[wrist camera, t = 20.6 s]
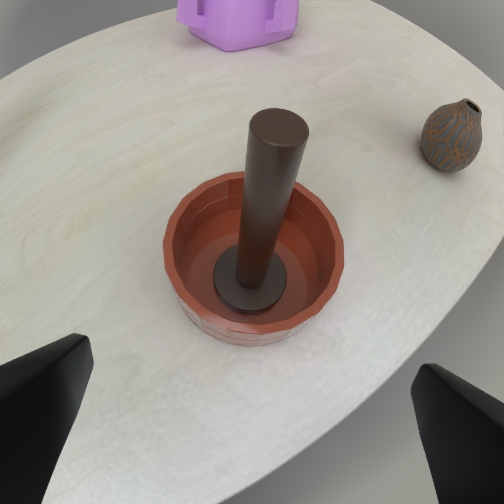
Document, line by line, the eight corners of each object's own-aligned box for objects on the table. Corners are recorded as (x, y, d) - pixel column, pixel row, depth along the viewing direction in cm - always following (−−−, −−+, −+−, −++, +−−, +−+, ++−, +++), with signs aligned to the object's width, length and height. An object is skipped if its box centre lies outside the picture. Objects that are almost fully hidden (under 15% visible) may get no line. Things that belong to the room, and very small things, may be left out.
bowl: (341, 240, 25) (361, 210, 21) (291, 372, 20) (308, 365, 16) (217, 187, 26) (216, 150, 22) (146, 303, 22) (129, 280, 18)
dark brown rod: (289, 310, 22) (372, 183, 9) (216, 317, 21) (204, 187, 8) (279, 246, 24) (329, 87, 11) (211, 250, 23) (202, 85, 11)
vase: (464, 189, 30) (506, 139, 22) (416, 170, 30) (455, 112, 22) (454, 148, 33) (486, 100, 25) (409, 130, 33) (438, 75, 25)
